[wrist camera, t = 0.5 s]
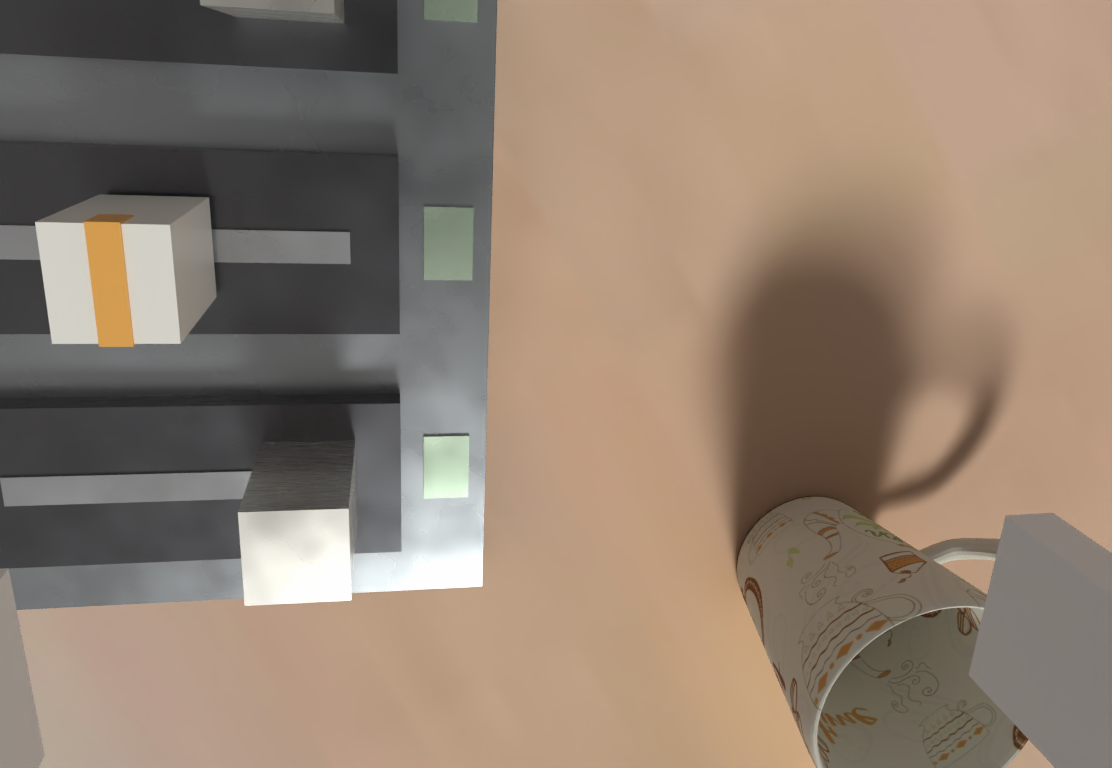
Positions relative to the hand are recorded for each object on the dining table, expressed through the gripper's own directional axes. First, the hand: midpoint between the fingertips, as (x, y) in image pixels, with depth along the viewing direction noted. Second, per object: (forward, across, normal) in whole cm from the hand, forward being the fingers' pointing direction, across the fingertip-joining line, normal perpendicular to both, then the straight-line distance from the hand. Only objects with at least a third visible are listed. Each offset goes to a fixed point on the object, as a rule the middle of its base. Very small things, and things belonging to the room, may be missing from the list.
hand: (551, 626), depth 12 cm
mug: (+21, +17, -12) cm, 30 cm away
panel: (+21, -9, +2) cm, 23 cm away
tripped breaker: (+18, -9, +2) cm, 20 cm away
